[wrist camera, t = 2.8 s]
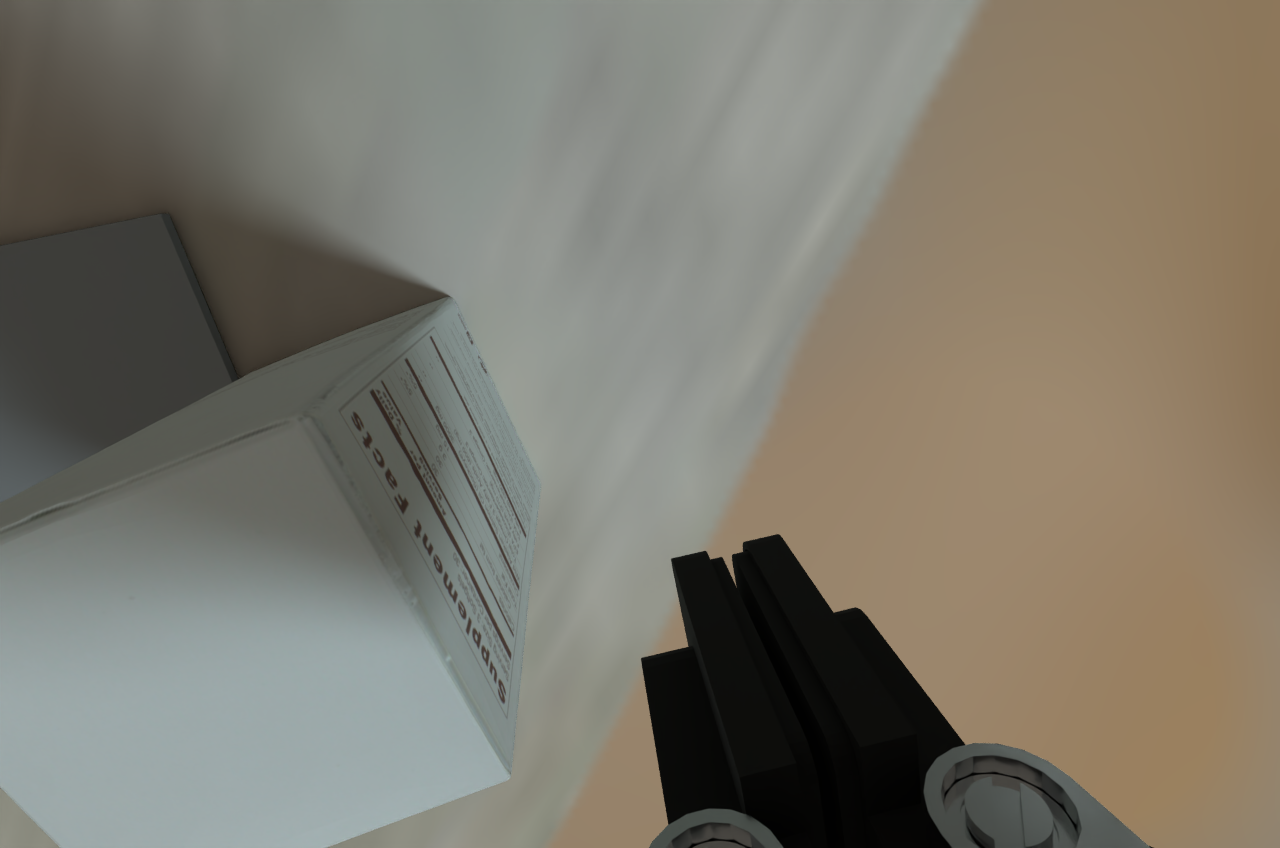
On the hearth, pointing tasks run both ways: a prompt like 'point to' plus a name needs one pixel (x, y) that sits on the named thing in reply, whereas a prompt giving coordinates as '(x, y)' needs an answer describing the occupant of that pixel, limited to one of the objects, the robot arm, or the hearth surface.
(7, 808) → the hearth surface
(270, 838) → the supplement box
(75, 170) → the hearth surface
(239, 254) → the hearth surface
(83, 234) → the mat
